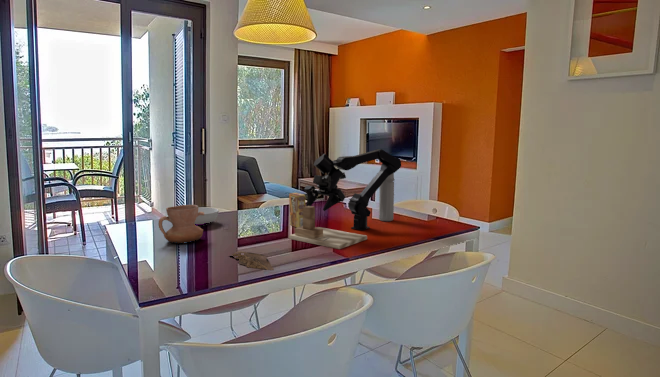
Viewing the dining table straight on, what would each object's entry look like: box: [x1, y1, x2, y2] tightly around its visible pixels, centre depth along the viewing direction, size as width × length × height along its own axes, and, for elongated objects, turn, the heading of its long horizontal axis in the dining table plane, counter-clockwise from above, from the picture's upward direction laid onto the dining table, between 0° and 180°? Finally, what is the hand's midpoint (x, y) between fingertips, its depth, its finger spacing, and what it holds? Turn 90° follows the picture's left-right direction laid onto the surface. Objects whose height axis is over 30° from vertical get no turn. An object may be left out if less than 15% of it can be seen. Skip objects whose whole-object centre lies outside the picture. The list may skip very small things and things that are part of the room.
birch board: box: [288, 226, 368, 250], centre depth 176 cm, size 19×26×2 cm
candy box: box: [288, 192, 306, 228], centre depth 199 cm, size 9×4×15 cm, turn 33°
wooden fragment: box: [231, 250, 275, 271], centre depth 147 cm, size 26×11×1 cm, turn 34°
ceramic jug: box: [157, 204, 204, 244], centre depth 172 cm, size 18×14×14 cm
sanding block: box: [294, 205, 323, 239], centre depth 175 cm, size 6×10×12 cm, turn 52°
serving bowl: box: [194, 206, 220, 224], centre depth 203 cm, size 21×21×7 cm
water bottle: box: [378, 173, 395, 222], centre depth 210 cm, size 9×8×25 cm
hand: (315, 209), depth 178 cm, fingers open, 9 cm apart
